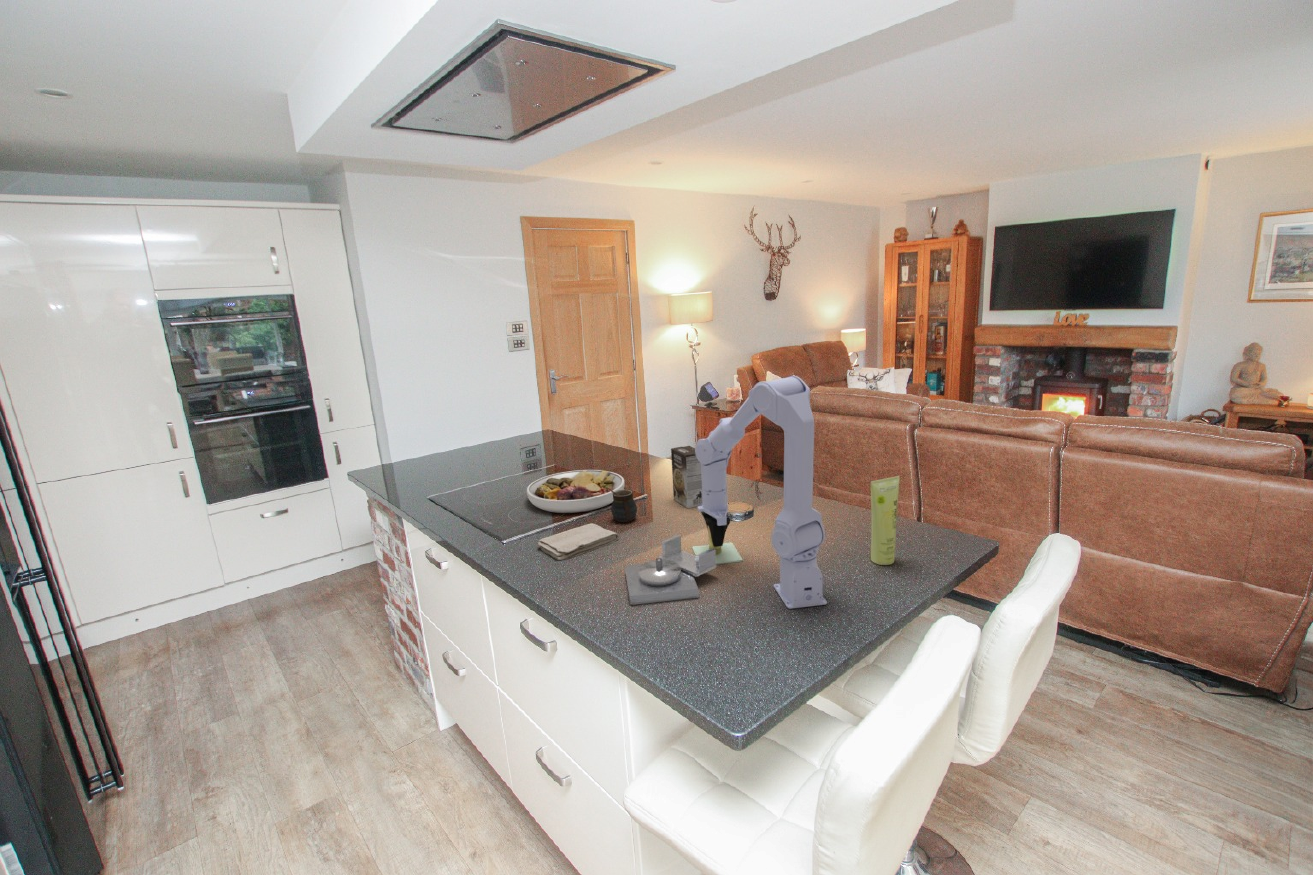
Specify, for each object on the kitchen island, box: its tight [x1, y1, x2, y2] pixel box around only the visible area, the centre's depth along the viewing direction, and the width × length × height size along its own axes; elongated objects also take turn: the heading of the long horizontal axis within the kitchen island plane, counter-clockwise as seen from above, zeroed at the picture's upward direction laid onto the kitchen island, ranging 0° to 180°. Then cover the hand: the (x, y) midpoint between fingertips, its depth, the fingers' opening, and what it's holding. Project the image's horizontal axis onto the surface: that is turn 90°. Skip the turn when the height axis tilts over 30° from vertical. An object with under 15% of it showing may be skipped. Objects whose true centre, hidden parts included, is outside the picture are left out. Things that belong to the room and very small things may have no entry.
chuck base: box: [624, 563, 700, 606], centre depth 128 cm, size 14×14×2 cm
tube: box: [870, 475, 901, 566], centre depth 131 cm, size 6×5×20 cm
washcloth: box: [537, 523, 620, 561], centre depth 152 cm, size 12×18×3 cm, turn 130°
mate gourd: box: [608, 488, 638, 523], centre depth 165 cm, size 7×8×10 cm
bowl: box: [526, 469, 625, 514], centre depth 185 cm, size 30×30×8 cm
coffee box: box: [670, 445, 703, 509], centre depth 175 cm, size 9×6×16 cm
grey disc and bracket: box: [638, 534, 718, 586], centre depth 129 cm, size 16×12×4 cm
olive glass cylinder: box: [707, 527, 722, 554], centre depth 141 cm, size 3×3×6 cm
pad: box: [691, 542, 744, 565], centre depth 142 cm, size 10×10×1 cm
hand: (716, 542), depth 141 cm, fingers closed on olive glass cylinder, 3 cm apart
